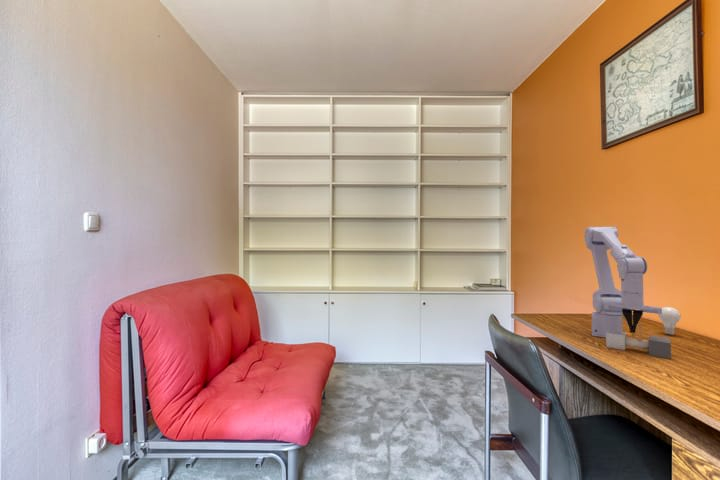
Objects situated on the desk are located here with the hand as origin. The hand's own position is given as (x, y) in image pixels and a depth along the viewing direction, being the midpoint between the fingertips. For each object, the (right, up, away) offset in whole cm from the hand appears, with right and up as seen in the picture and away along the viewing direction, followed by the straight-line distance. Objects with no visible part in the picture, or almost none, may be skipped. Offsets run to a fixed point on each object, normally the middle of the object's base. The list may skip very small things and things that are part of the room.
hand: (632, 332), depth 106 cm
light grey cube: (-3, -6, +3) cm, 7 cm away
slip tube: (0, -5, 0) cm, 5 cm away
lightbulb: (+29, -6, +17) cm, 34 cm away
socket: (+5, -6, -4) cm, 9 cm away
